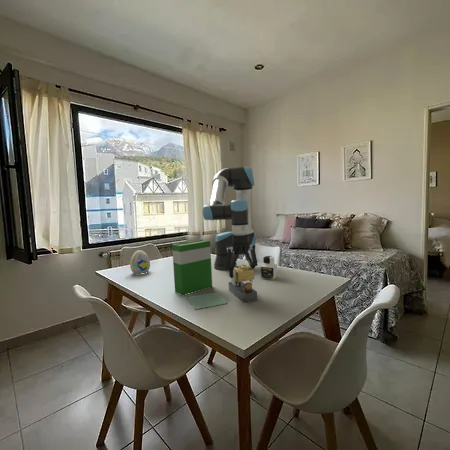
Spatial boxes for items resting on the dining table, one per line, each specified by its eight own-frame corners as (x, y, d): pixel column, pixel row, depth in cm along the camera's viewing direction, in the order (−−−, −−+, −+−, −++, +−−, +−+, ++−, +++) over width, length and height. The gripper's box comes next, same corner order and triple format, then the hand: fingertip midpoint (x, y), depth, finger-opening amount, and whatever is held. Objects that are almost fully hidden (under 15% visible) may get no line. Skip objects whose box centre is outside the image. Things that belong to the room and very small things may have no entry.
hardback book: (204, 283, 137) (201, 239, 135) (212, 286, 132) (210, 240, 130) (175, 291, 126) (172, 244, 124) (182, 295, 120) (179, 245, 118)
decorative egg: (135, 277, 156) (133, 252, 154) (127, 273, 165) (126, 250, 163) (153, 272, 163) (152, 249, 162) (146, 269, 173) (144, 247, 171)
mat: (187, 298, 117) (187, 297, 116) (216, 293, 122) (216, 292, 122) (195, 310, 104) (195, 309, 104) (227, 303, 109) (227, 302, 109)
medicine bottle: (261, 278, 141) (260, 257, 140) (265, 275, 148) (264, 254, 146) (273, 280, 138) (273, 258, 137) (277, 276, 144) (276, 255, 143)
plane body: (228, 290, 125) (228, 271, 124) (239, 288, 127) (239, 270, 126) (245, 303, 108) (244, 282, 108) (257, 300, 111) (256, 279, 110)
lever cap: (229, 276, 121) (229, 265, 120) (244, 273, 124) (244, 263, 123) (238, 282, 111) (237, 270, 111) (254, 279, 114) (254, 267, 114)
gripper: (221, 237, 108) (224, 289, 110) (264, 232, 115) (266, 281, 118) (215, 235, 115) (218, 284, 117) (256, 231, 122) (258, 277, 124)
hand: (242, 282), depth 117 cm, fingers closed on lever cap, 8 cm apart
